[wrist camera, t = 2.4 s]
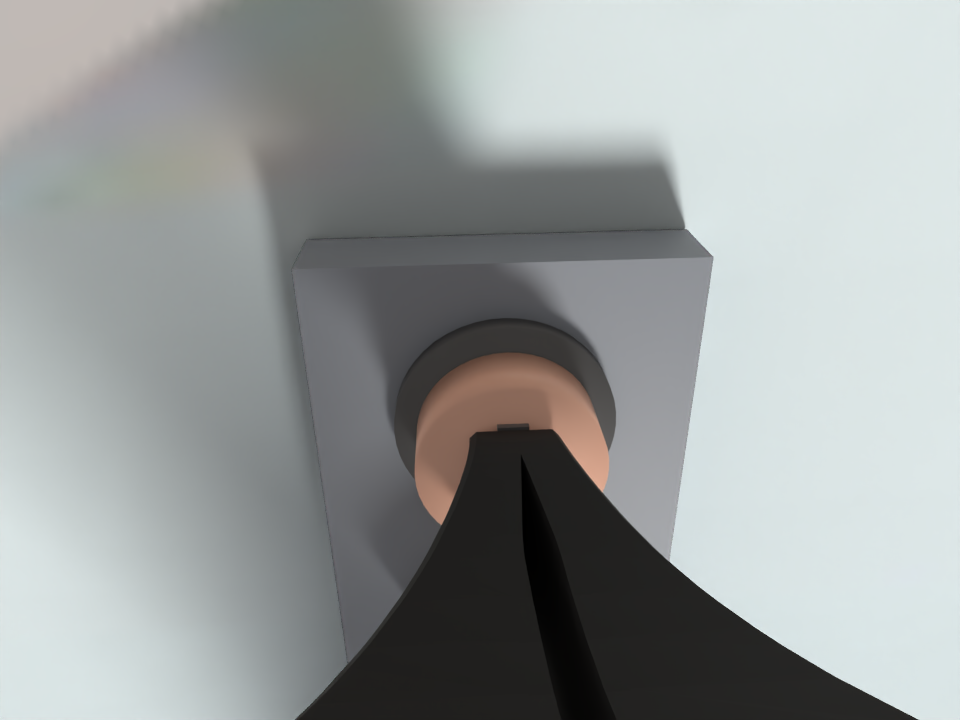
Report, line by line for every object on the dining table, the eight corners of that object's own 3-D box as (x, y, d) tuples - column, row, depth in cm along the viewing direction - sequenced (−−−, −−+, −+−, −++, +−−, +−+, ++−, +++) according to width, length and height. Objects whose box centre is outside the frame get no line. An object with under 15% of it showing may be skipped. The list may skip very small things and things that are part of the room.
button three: (590, 499, 14) (604, 546, 13) (421, 506, 14) (419, 555, 13) (601, 349, 12) (617, 388, 11) (411, 355, 12) (408, 394, 11)
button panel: (619, 765, 21) (635, 833, 19) (376, 777, 21) (370, 848, 19) (687, 229, 13) (721, 265, 12) (306, 239, 13) (286, 278, 12)
